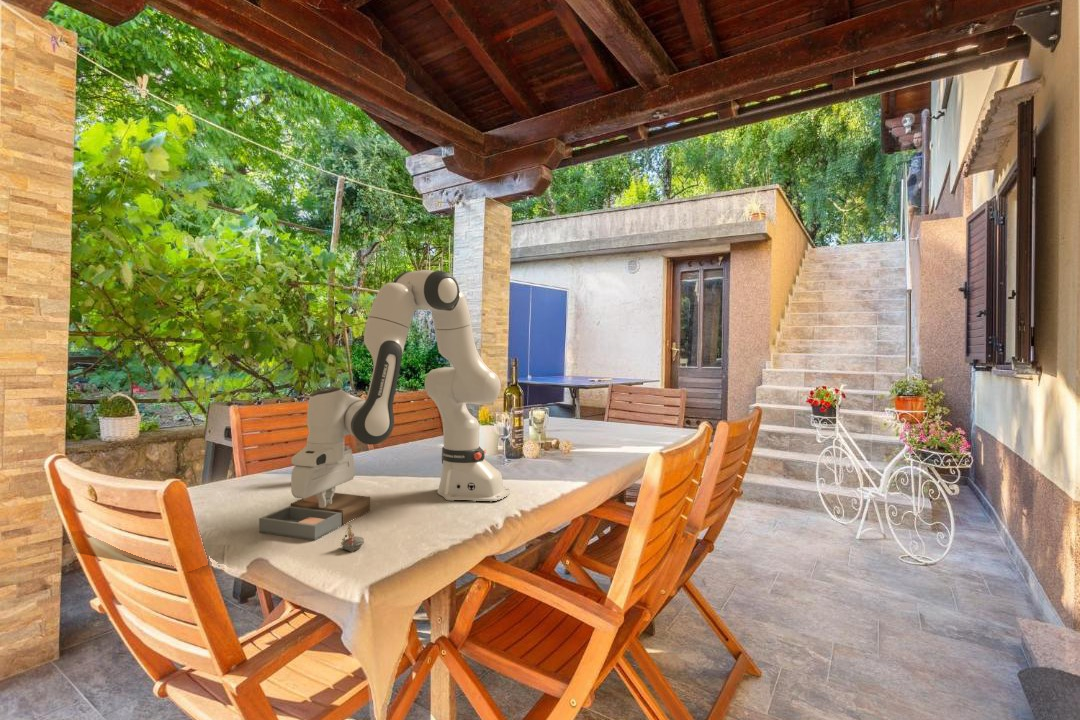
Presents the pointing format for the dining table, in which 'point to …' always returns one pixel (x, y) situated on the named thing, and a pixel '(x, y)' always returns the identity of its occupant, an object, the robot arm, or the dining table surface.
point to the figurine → (351, 541)
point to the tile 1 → (312, 499)
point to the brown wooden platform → (341, 505)
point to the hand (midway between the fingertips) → (325, 506)
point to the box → (289, 526)
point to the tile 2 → (311, 520)
